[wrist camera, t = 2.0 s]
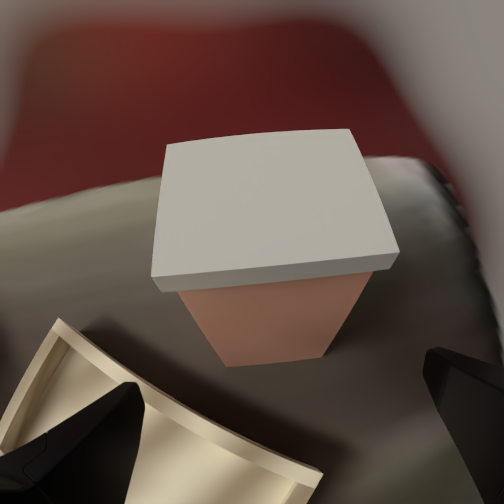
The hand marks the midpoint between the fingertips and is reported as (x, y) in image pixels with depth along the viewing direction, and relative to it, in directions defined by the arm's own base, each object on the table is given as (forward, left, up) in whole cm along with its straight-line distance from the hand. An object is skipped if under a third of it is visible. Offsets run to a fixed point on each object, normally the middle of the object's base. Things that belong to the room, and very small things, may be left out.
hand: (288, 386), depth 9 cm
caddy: (+3, -5, -12) cm, 13 cm away
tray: (+6, +9, -12) cm, 16 cm away
